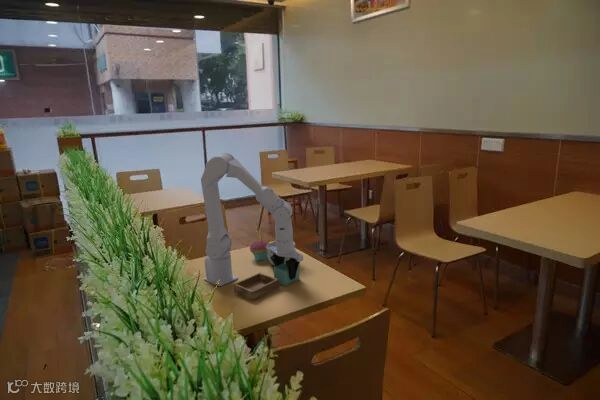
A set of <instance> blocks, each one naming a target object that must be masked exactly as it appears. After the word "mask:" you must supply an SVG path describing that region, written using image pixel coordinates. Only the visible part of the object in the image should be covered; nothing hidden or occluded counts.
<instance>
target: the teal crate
mask: <svg viewBox="0 0 600 400" xmlns="http://www.w3.org/2000/svg"><path fill="white" fill-rule="evenodd" d="M299 266H300V265H299ZM299 266H298V268H297V272H296V277H295V278H294V279H292V280H290V278H289V271H288V267H287V265H286V263H283V264H280V265H278V266H276V267H275V266H274V267H273V277H274V278H276V279H279V286H282V287H287V286H289V285H291V284H294V283H295V282H297V281H298V280H300V267H299Z"/></svg>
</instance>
